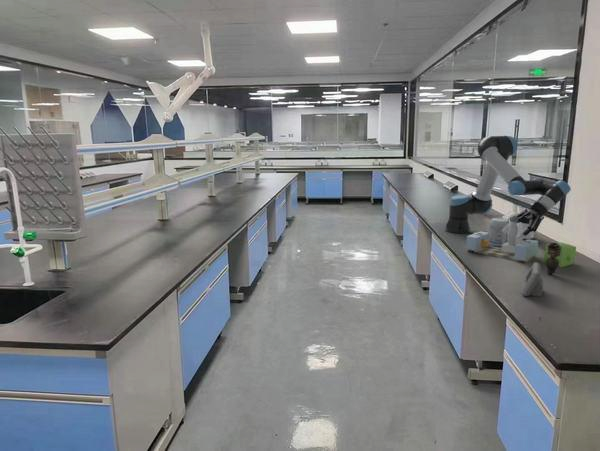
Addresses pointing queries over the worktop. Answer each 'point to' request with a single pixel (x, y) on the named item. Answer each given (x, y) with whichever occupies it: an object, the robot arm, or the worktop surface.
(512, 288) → the worktop surface
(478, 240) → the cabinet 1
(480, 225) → the worktop surface
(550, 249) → the dark brown figurine
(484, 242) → the gauge plunger
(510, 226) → the white stand
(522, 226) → the jar
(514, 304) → the worktop surface
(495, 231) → the supplement tub
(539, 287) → the gray robed figurine
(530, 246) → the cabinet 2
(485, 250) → the rail bench
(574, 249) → the lime green rounded box
